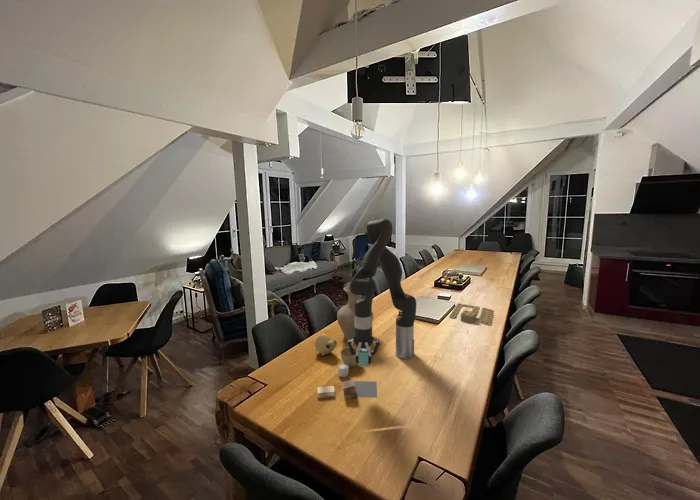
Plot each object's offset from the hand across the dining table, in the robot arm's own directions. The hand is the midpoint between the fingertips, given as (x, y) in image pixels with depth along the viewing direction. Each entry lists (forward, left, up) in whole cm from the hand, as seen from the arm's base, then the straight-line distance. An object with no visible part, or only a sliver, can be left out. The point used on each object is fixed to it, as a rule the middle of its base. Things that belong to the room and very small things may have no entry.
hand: (363, 362), depth 127 cm
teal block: (0, 0, 0) cm, 0 cm away
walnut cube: (+5, +4, -12) cm, 14 cm away
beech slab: (+16, +4, -13) cm, 21 cm away
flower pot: (+7, -20, -13) cm, 25 cm away
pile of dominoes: (-76, -90, -13) cm, 119 cm away
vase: (+6, -53, -13) cm, 55 cm away
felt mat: (0, 0, -13) cm, 13 cm away
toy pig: (+21, -31, -13) cm, 39 cm away
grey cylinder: (+10, -11, -13) cm, 19 cm away
